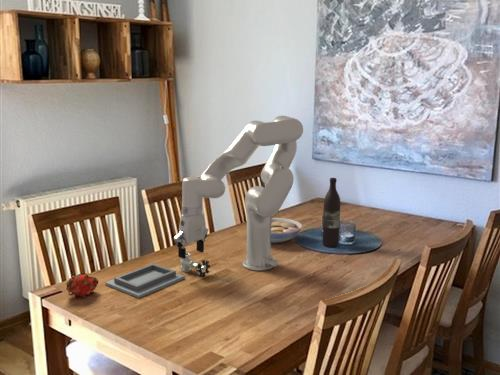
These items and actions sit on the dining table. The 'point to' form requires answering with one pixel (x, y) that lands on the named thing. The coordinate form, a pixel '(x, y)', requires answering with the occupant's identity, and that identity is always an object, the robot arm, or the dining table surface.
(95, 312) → the dining table surface
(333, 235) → the wine bottle
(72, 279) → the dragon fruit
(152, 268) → the rimmed tray
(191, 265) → the valve
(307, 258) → the dining table surface
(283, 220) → the ramen bowl
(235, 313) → the dining table surface
